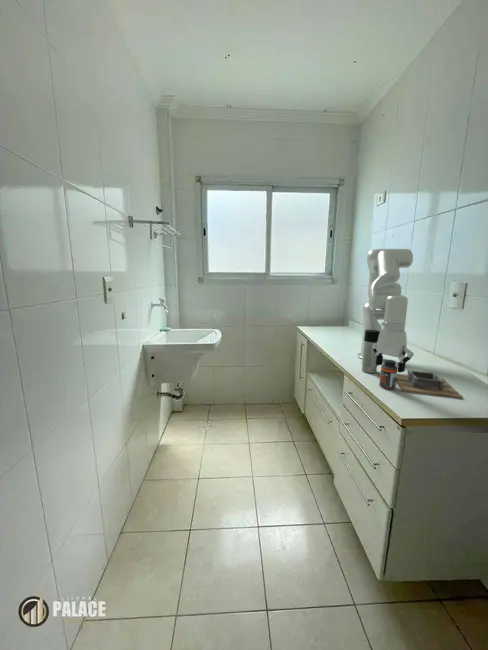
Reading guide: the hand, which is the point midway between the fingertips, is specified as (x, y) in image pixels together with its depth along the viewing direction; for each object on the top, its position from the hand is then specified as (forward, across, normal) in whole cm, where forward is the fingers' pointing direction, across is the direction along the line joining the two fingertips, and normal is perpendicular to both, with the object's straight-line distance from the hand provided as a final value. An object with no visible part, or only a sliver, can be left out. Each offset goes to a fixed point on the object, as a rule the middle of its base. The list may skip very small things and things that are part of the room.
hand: (389, 368), depth 112 cm
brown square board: (+8, +5, +16) cm, 19 cm away
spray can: (+8, -18, +10) cm, 22 cm away
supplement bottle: (+8, 0, 0) cm, 8 cm away
